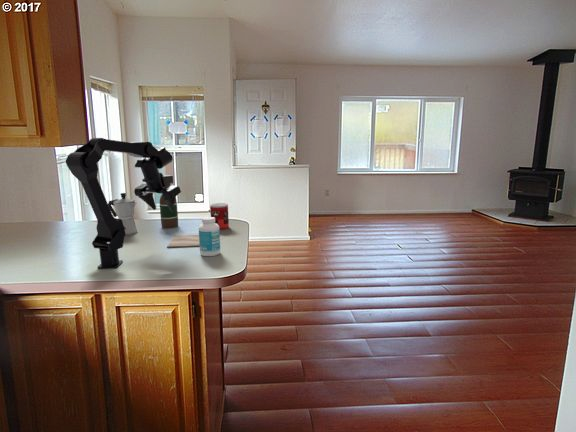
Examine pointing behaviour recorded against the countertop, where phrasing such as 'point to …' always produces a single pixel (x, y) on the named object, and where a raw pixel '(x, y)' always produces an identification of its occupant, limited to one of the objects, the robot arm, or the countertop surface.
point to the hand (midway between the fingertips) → (163, 210)
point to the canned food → (220, 214)
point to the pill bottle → (209, 237)
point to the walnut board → (184, 241)
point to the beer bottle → (168, 213)
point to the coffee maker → (124, 212)
